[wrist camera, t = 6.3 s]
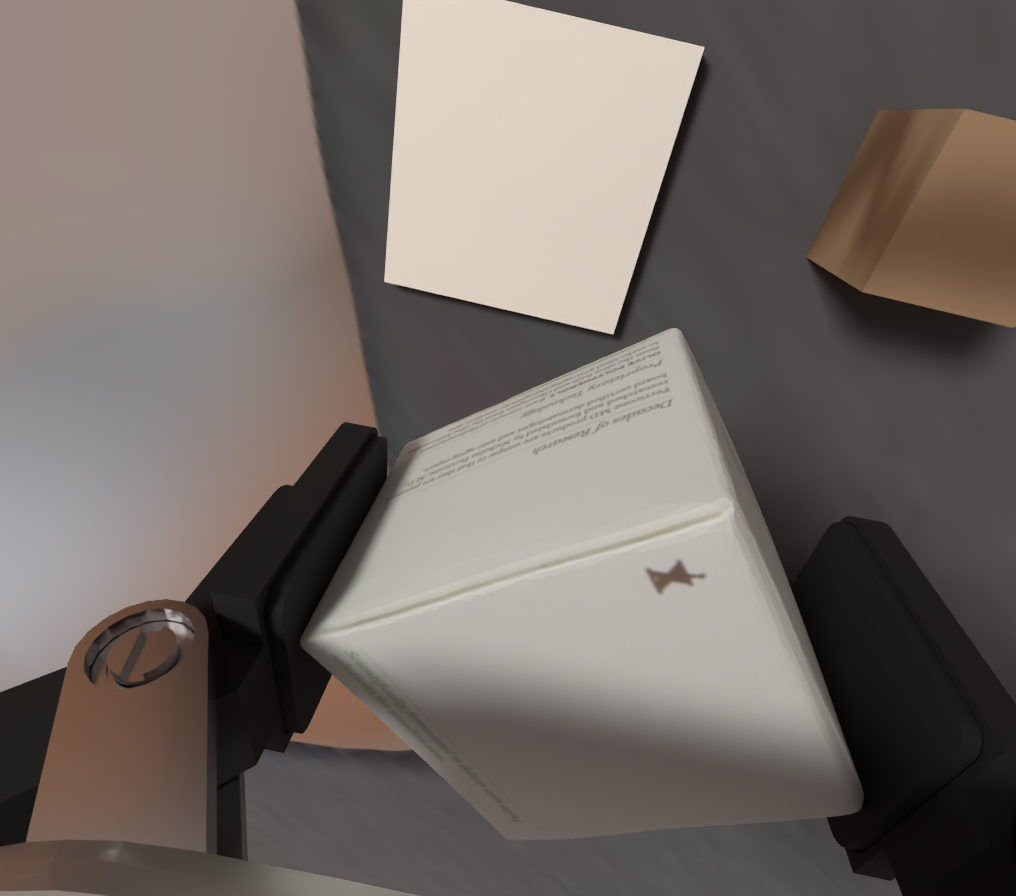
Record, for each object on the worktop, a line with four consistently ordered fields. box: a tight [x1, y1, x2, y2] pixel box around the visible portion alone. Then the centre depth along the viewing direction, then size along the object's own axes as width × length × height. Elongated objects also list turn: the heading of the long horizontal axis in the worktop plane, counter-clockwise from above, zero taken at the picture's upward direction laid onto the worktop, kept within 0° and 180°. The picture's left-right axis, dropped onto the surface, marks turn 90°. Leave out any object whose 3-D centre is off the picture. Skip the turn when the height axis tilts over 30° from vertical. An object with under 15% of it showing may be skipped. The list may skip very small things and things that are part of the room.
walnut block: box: [807, 109, 1016, 328], centre depth 18 cm, size 5×5×5 cm
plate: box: [384, 0, 705, 334], centre depth 20 cm, size 10×10×1 cm
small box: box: [300, 328, 864, 840], centre depth 9 cm, size 6×6×5 cm
